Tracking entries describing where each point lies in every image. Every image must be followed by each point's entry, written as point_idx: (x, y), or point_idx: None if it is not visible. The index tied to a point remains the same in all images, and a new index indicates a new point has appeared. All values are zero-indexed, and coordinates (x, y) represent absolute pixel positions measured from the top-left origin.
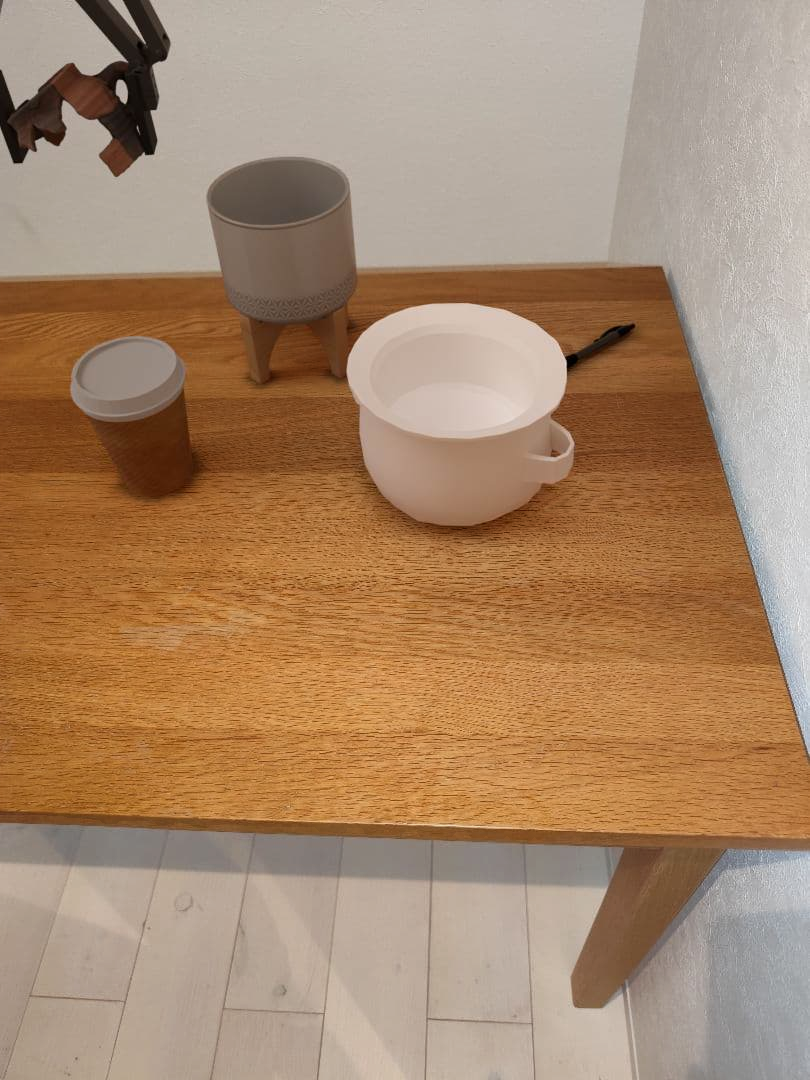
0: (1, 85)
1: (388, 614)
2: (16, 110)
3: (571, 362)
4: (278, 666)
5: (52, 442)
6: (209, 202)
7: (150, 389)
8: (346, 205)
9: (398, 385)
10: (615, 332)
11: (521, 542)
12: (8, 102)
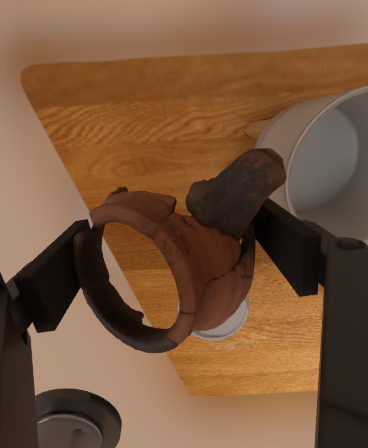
0: (52, 291)
1: (315, 331)
2: (82, 270)
3: None
4: (272, 353)
5: (136, 248)
6: (290, 203)
7: (236, 331)
8: None
9: None
10: None
11: None
12: (64, 269)
